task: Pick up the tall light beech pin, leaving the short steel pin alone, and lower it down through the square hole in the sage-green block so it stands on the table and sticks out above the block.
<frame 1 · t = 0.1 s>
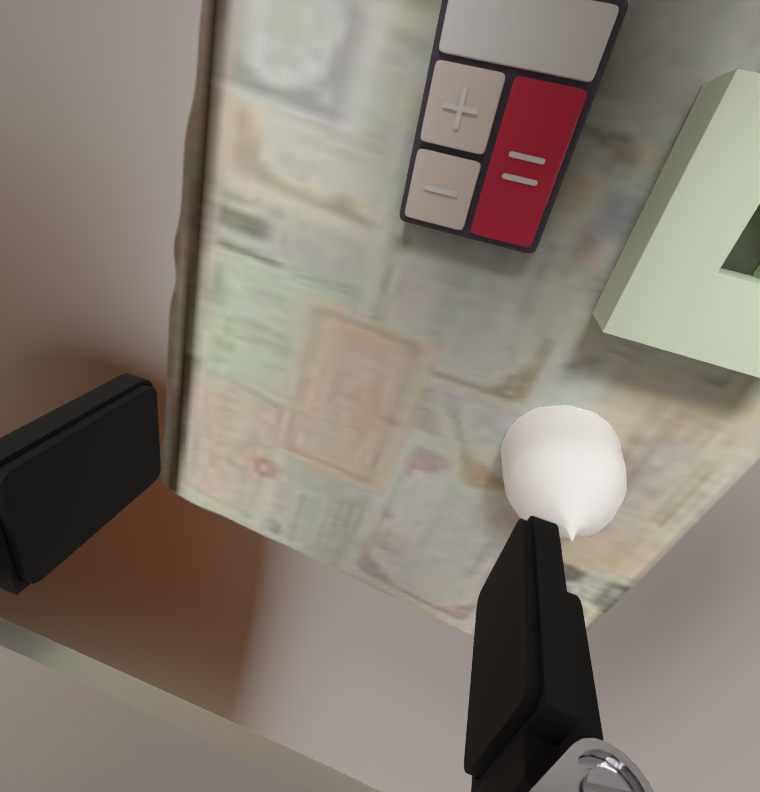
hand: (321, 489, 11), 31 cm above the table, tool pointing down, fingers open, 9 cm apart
teardrop: (557, 452, 43), on the table
calculator: (498, 129, 33), on the table
peg block: (739, 237, 32), on the table
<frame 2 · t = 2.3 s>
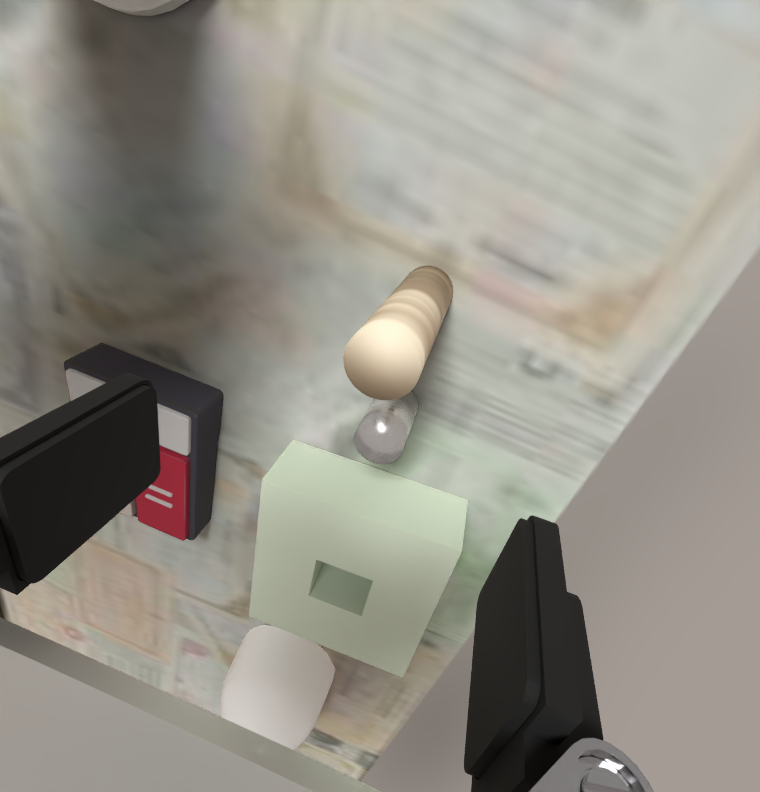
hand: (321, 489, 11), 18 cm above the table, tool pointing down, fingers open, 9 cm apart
teardrop: (290, 655, 49), on the table
short pin: (396, 403, 30), on the table
calculator: (164, 436, 38), on the table
peg block: (358, 539, 37), on the table
long pin: (427, 291, 26), on the table
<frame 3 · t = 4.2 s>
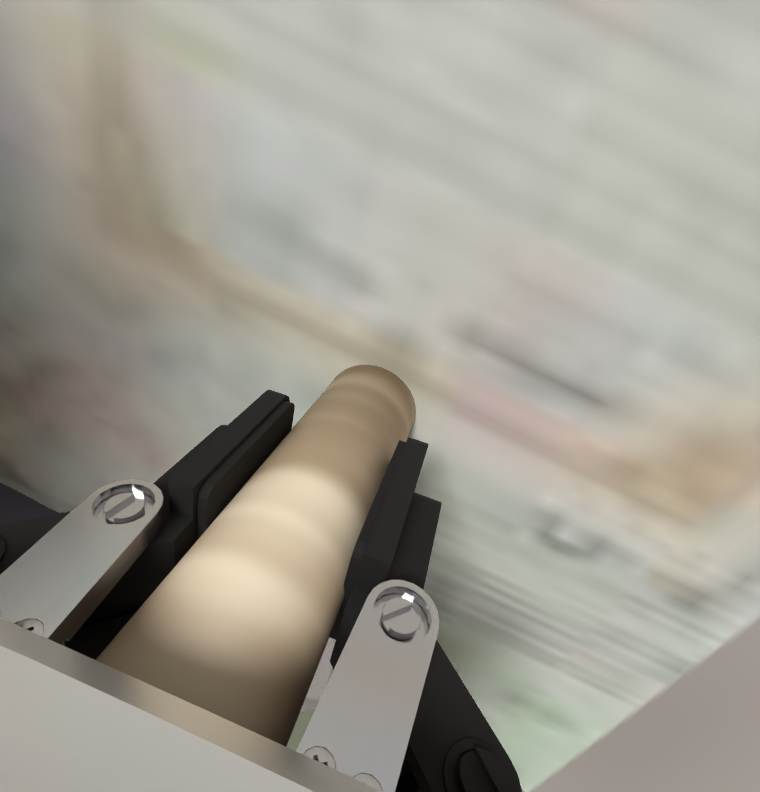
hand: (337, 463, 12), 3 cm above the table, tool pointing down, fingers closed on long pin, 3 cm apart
short pin: (332, 563, 18), on the table
calculator: (21, 559, 27), on the table
peg block: (294, 719, 25), on the table
long pin: (370, 407, 14), on the table, touching gripper
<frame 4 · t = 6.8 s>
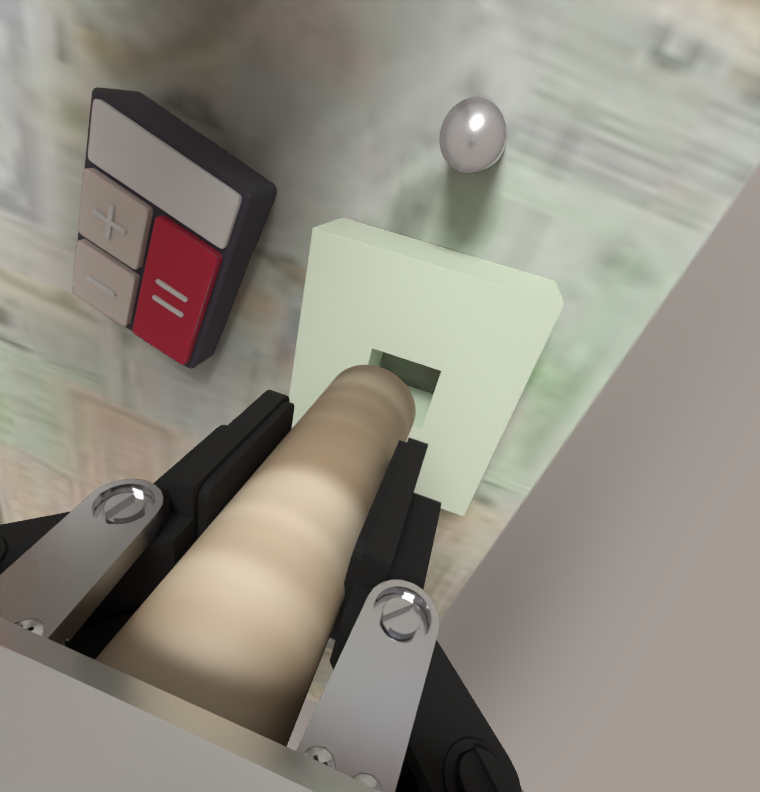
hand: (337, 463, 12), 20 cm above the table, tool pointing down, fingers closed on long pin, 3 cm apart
short pin: (478, 140, 24), on the table
calculator: (183, 240, 33), on the table
peg block: (412, 358, 32), on the table
long pin: (370, 406, 14), point 17 cm above the table, touching gripper
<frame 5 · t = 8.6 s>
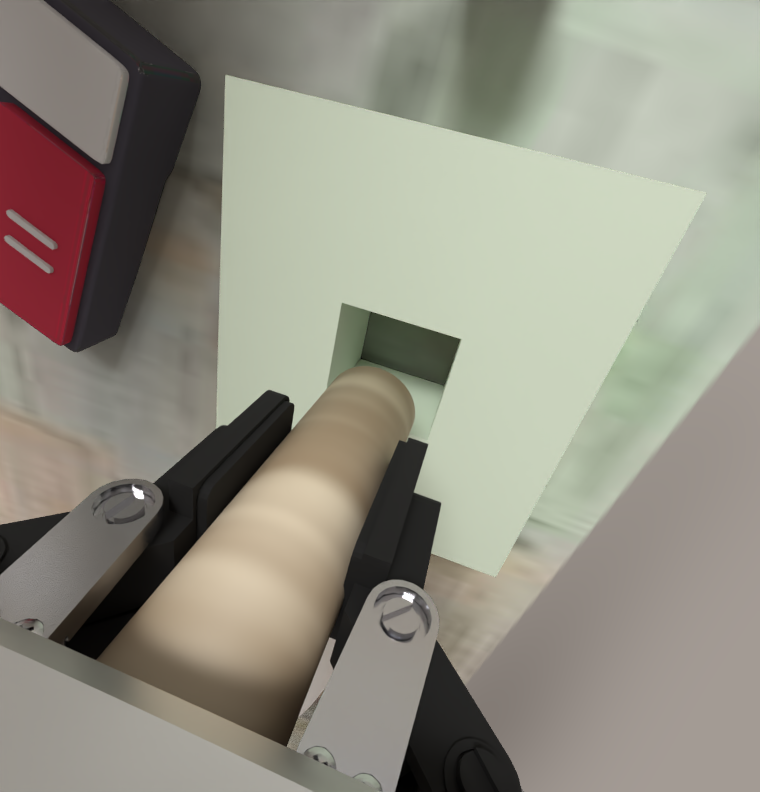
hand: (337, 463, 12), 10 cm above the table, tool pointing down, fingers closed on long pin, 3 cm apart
teardrop: (288, 584, 32), on the table
calculator: (69, 161, 22), on the table
peg block: (412, 331, 21), on the table
long pin: (370, 408, 14), point 7 cm above the table, touching gripper
when the fingers open (6 cm above the table, at t = 9.7 s): long pin drops 3 cm, resting in peg block.
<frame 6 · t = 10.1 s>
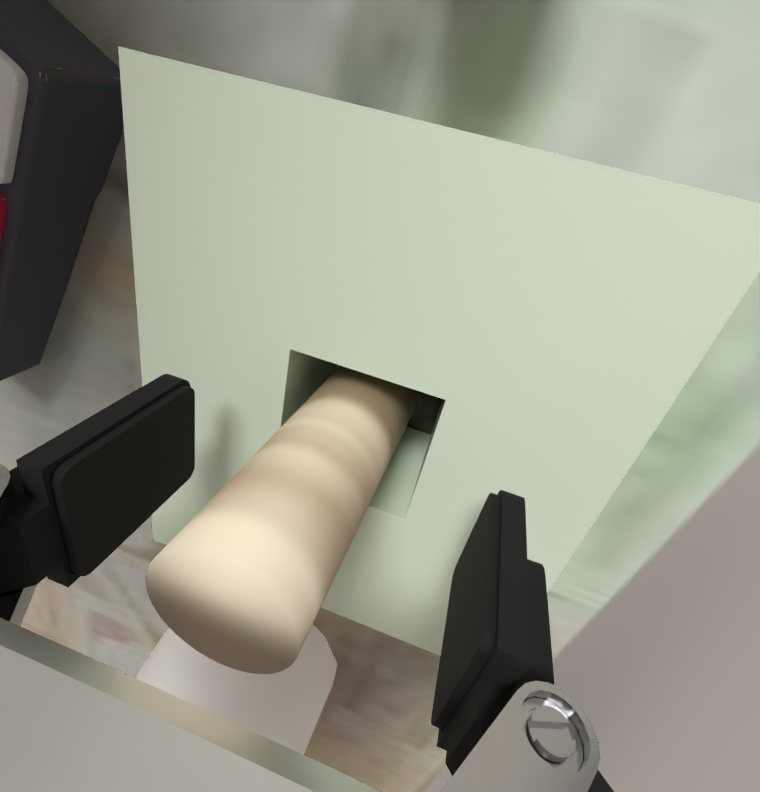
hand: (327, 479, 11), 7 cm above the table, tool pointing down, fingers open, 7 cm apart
teardrop: (260, 640, 29), on the table
peg block: (392, 371, 17), on the table
long pin: (389, 370, 17), resting in peg block
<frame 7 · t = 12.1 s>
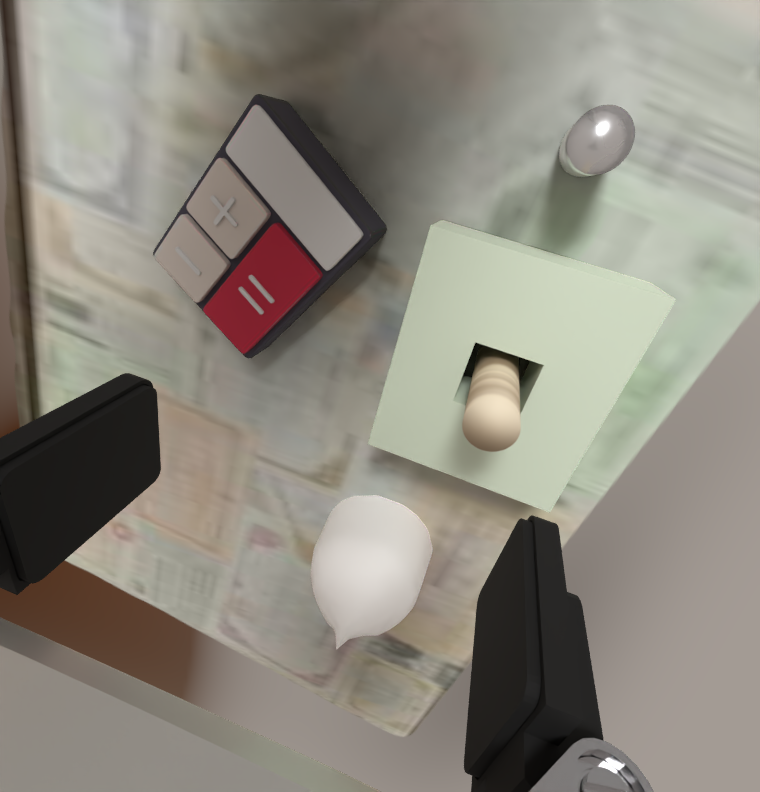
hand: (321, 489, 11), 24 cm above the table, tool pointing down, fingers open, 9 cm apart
teardrop: (379, 537, 44), on the table
short pin: (585, 148, 26), on the table
calculator: (276, 240, 34), on the table
peg block: (498, 357, 33), on the table
long pin: (497, 357, 33), resting in peg block
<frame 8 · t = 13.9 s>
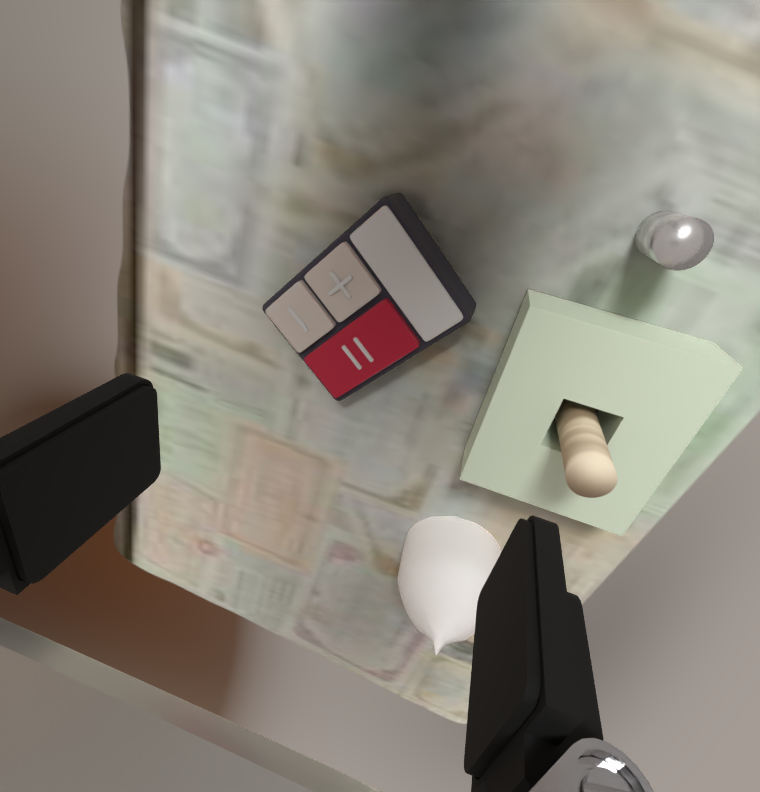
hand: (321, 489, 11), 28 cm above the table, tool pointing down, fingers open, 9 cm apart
teardrop: (452, 552, 49), on the table
short pin: (659, 234, 30), on the table
calculator: (371, 301, 39), on the table
peg block: (572, 401, 37), on the table
long pin: (571, 401, 37), resting in peg block
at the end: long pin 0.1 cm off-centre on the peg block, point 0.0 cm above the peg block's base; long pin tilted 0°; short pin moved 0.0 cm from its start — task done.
